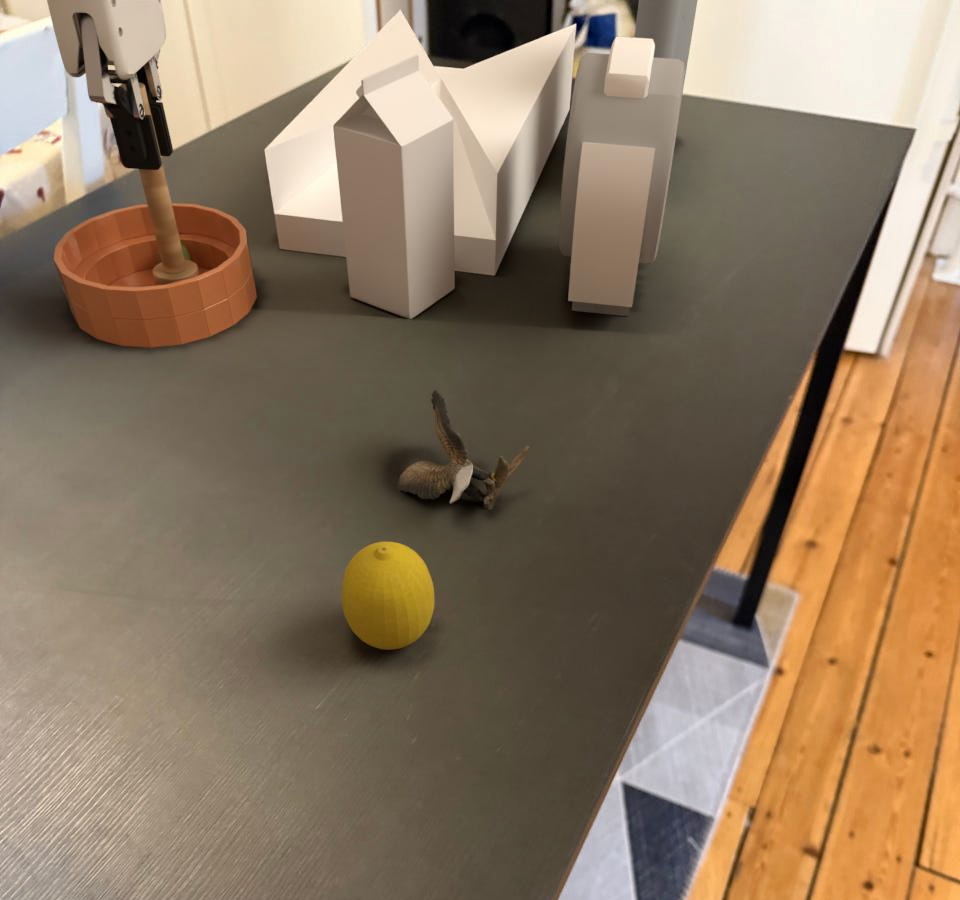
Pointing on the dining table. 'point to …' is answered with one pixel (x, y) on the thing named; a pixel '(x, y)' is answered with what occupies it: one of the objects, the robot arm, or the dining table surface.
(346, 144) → the milk carton
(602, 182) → the grey boxy piece
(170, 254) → the stick
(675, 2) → the flask
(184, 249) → the bead
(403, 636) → the lemon
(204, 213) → the bowl
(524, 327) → the dining table surface
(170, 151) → the robot arm
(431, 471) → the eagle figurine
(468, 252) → the building model
